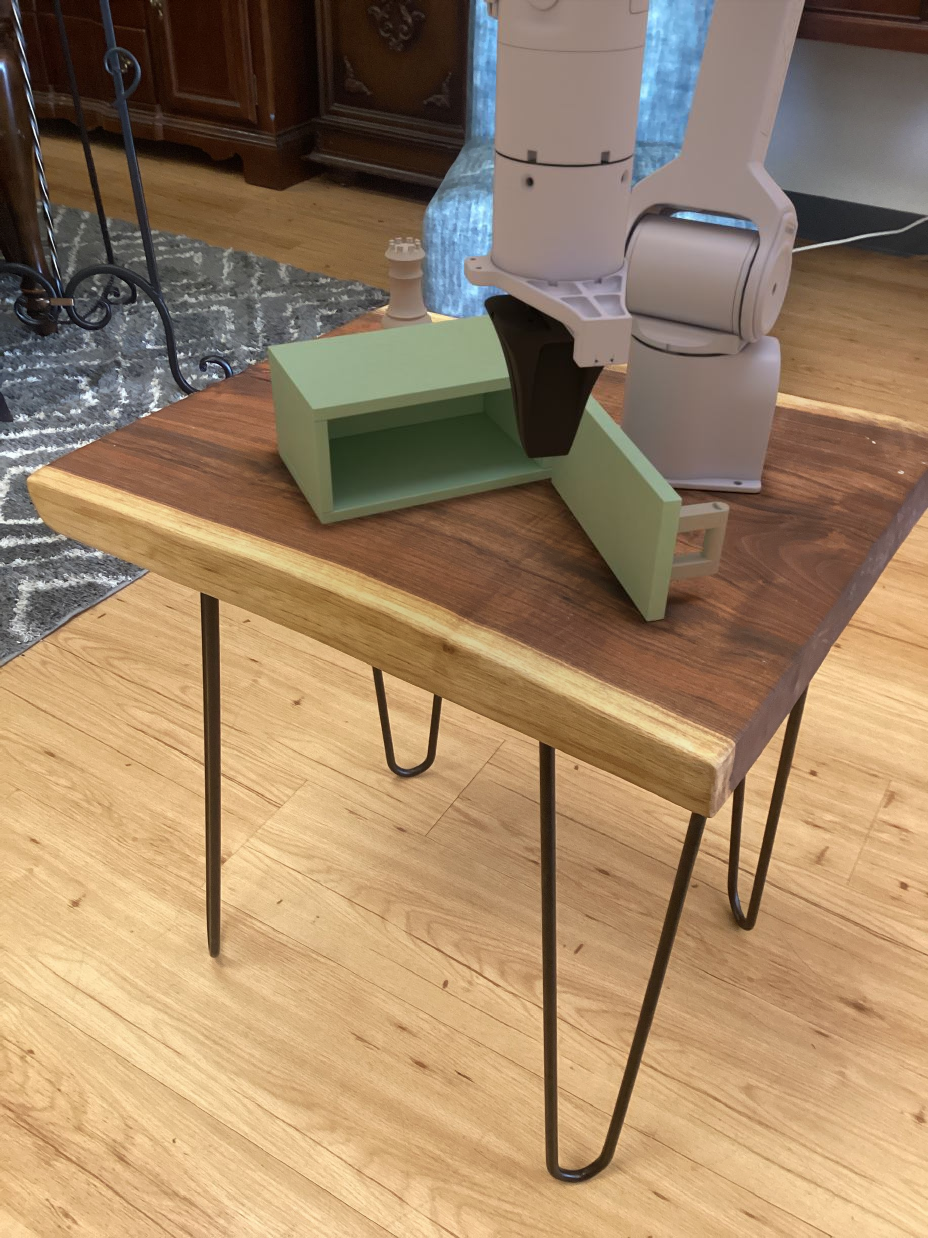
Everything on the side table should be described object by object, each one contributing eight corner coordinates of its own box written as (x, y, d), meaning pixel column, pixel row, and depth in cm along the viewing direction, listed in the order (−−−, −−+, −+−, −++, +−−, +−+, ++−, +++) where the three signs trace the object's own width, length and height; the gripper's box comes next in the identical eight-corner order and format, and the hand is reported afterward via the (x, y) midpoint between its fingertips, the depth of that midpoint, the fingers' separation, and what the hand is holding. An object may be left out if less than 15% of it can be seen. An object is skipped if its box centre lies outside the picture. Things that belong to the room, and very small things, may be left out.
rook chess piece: (370, 343, 86) (365, 244, 81) (397, 326, 89) (395, 230, 85) (417, 353, 84) (415, 253, 80) (443, 335, 88) (443, 238, 83)
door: (616, 474, 68) (627, 368, 64) (724, 610, 56) (747, 490, 52) (551, 482, 67) (558, 375, 63) (646, 622, 55) (663, 501, 51)
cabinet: (552, 478, 68) (560, 367, 63) (322, 525, 63) (312, 409, 58) (489, 416, 75) (492, 313, 71) (278, 454, 70) (267, 345, 66)
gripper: (436, 117, 48) (437, 394, 56) (509, 201, 36) (497, 535, 44) (584, 112, 49) (565, 385, 57) (701, 193, 37) (655, 520, 45)
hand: (545, 450), depth 51 cm, fingers closed
